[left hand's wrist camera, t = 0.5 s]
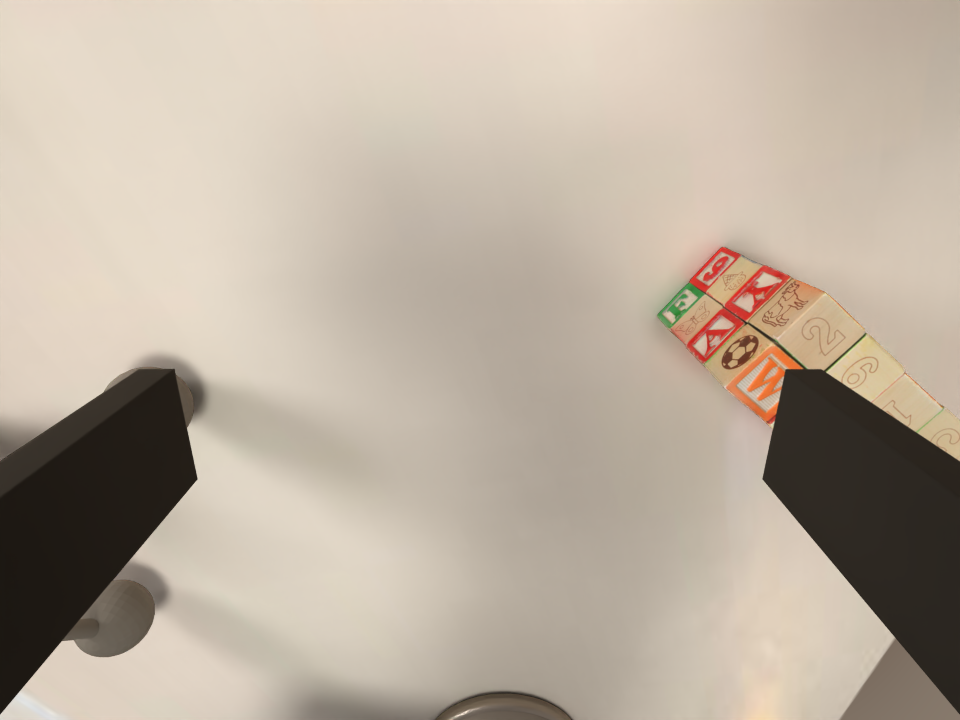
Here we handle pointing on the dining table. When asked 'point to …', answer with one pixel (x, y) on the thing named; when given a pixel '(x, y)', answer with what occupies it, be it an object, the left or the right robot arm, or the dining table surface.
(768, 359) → the stack of blocks
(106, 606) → the molecular model
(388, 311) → the dining table surface
